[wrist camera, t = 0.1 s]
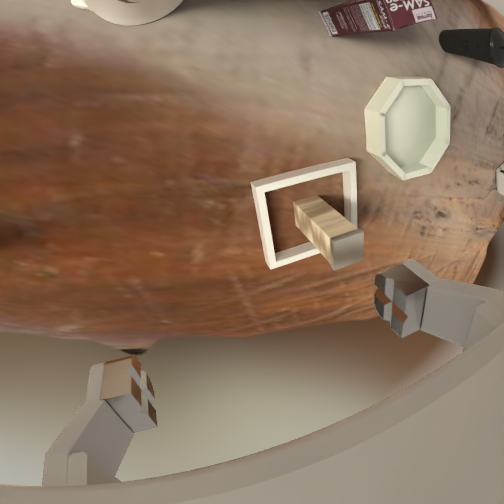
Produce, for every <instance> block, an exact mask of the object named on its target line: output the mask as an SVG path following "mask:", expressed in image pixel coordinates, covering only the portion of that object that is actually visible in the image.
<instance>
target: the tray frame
mask: <svg viewBox="0 0 504 504" xmlns="http://www.w3.org/2000/svg"><path fill="white" fill-rule="evenodd" d="M340 172H343V190H344V215H345V218H346V219H347V220H348V221H349V222H351V223H352V224H353V225H354V226H355V227H356V228H357V184H356V162H355V161H353V160H351V159H349V158H344V159H340V160H335V161H331V162H327V163H322V164H318V165H314V166H310V167H306V168H302V169H298V170H294V171H290V172H286V173H282V174H278V175H275V176H271V177H267V178H263V179H260V180H256V181H252V182H251V186H252V191H253V197H254V202H255V207H256V212H257V218H258V223H259V228H260V234H261V239H262V244H263V250H264V255H265V260H266V263H267V265H268V266H269V268H270V270H271V269H274V268H277V267H280V266H283V265H286V264H289V263H292V262H295V261H298V260H301V259H303V258H306V257H309V256H312V255H315V254H318V253H321V252H320V251H319V250H318V249H317V248H316V247H315V246H314V245H313V243H312V242H308V243H305V244H302V245H298V246H295V247H292V248H289V249H286V250H283V251H280V252H277V253H275V252H274V246H273V240H272V234H271V228H270V222H269V216H268V210H267V204H266V198H265V193H264V192H268V191H271V190H275V189H279V188H282V187H286V186H290V185H293V184H297V183H301V182H305V181H308V180H312V179H316V178H320V177H324V176H328V175H332V174H336V173H340Z"/></svg>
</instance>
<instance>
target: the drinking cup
mask: <svg viewBox="0 0 504 504" xmlns="http://www.w3.org/2000/svg"><path fill="white" fill-rule="evenodd" d="M439 41H440V45H441V47H442V49H443V50H444V51H446V52H449V53H453V54H457V55H462V56H466V57H469V58H473V59H477V60H481V61H484V62H488V63H491V64H494V65H496V66H498V67H500V68H504V32H503V31H502V30H501V29H500V28H497V27H494V28H492V29H457V30H443V31H442V32H441V33H440V36H439Z"/></svg>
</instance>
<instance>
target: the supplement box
mask: <svg viewBox="0 0 504 504" xmlns="http://www.w3.org/2000/svg"><path fill="white" fill-rule="evenodd" d="M318 13H319V15H320V17H321V19H322V21H323V23H324V25H325V27H326V29H327V31H328V33H329V36H338V35H346V34H356V33H367V32H383V31H396V30H398V29H400V28H403V27H406V26H409V25H413V24H416V23H420V22H424V21H429V20H434V19H437V17H436V14H435V11H434V8H433V6H432V3H431V0H355V1H352V2H348V3H344V4H341V5H338V6H334V7H331V8H328V9H325V10H322V11H319V12H318Z"/></svg>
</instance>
